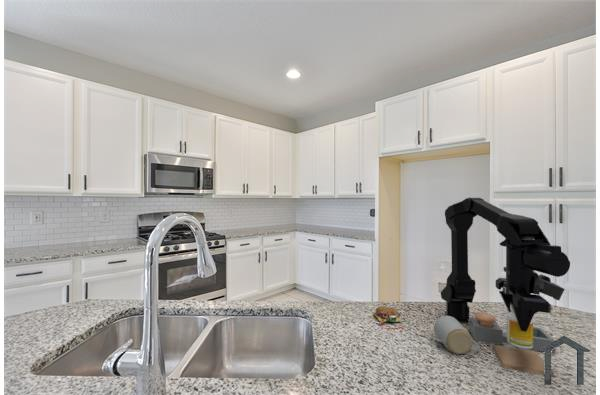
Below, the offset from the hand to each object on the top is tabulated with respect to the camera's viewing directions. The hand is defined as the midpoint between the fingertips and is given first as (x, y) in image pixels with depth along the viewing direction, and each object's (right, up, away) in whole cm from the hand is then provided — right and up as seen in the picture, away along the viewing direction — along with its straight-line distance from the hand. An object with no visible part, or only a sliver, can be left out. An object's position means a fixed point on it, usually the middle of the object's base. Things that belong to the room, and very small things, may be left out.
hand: (519, 326), depth 72 cm
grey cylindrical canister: (-13, -9, +6) cm, 17 cm away
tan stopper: (0, -8, +13) cm, 15 cm away
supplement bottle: (0, -5, 0) cm, 5 cm away
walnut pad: (0, -9, 0) cm, 9 cm away
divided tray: (+5, -9, +11) cm, 15 cm away
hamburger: (-27, -10, +24) cm, 38 cm away
